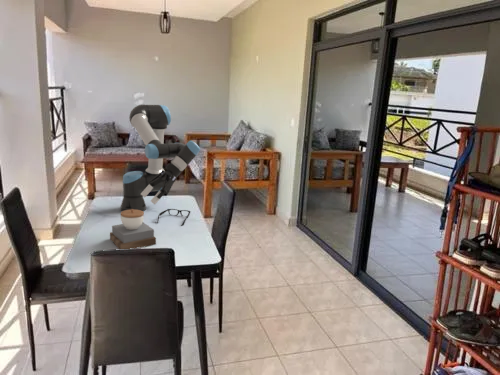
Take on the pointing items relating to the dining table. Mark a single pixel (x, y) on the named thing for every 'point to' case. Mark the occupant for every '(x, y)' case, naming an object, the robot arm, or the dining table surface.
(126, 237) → the charcoal grey block
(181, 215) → the glasses
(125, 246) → the walnut block
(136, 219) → the lidded jar
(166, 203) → the dining table surface
